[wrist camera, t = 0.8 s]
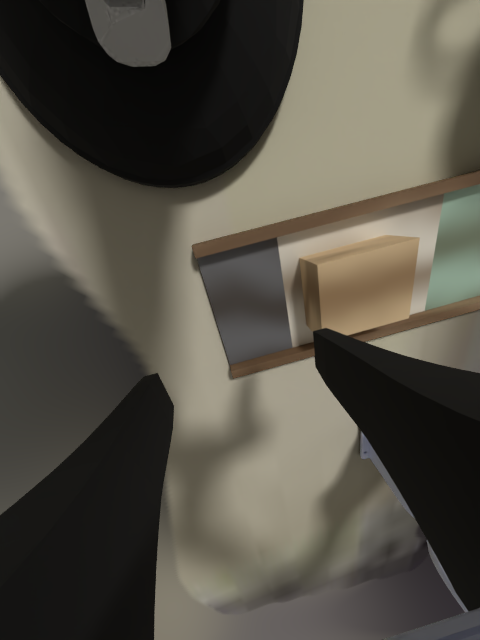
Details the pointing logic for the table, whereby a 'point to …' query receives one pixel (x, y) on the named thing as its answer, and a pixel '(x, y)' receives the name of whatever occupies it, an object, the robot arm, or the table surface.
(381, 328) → the channel
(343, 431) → the table surface
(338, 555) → the table surface
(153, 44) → the sculpture
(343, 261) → the oak block
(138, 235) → the table surface
